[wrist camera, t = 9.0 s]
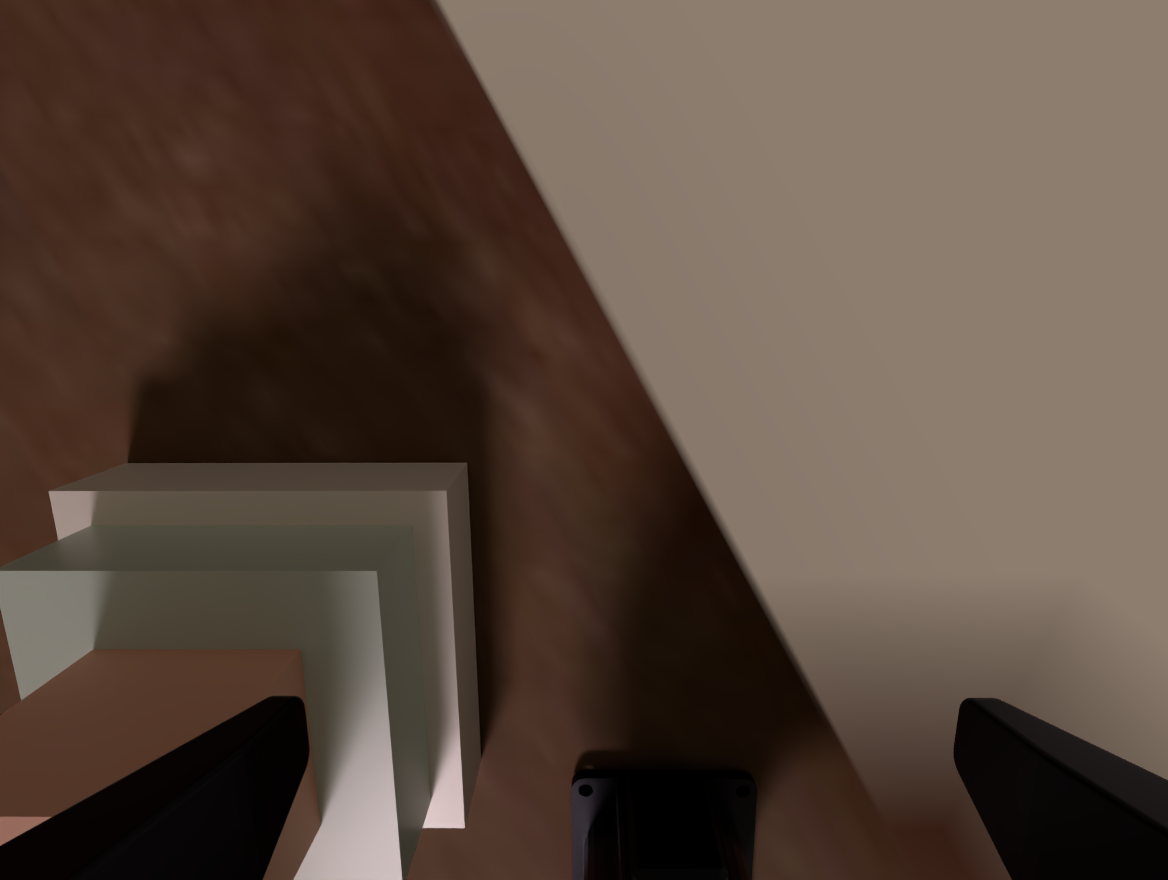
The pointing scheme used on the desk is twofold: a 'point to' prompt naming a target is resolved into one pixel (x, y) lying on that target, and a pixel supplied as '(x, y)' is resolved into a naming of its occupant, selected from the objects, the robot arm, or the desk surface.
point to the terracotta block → (140, 730)
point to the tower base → (334, 504)
